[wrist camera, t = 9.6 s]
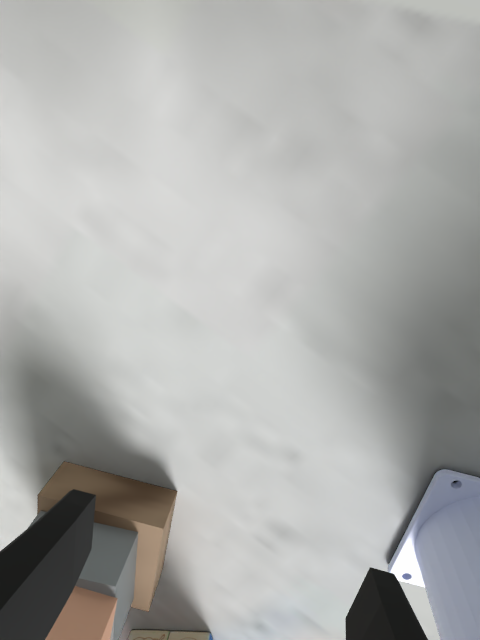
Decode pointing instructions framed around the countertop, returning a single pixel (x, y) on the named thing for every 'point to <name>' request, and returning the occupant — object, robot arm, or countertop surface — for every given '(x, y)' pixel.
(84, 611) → the terracotta block
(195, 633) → the stack of blocks
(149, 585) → the walnut base block
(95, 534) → the gray top block
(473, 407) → the countertop surface
